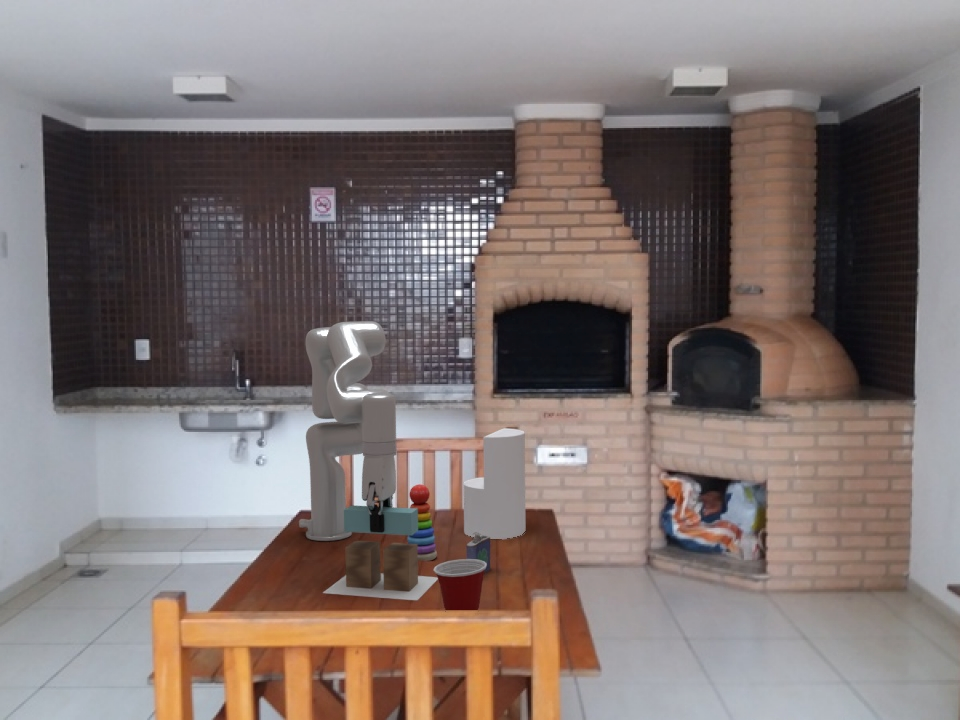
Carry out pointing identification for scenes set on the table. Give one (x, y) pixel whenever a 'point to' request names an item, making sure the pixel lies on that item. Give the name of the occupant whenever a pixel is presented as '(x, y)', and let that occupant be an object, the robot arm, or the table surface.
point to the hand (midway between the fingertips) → (381, 528)
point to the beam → (394, 520)
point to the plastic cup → (461, 583)
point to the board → (379, 591)
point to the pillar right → (400, 567)
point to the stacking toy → (422, 524)
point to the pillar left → (363, 564)
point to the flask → (479, 549)
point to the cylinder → (498, 488)
